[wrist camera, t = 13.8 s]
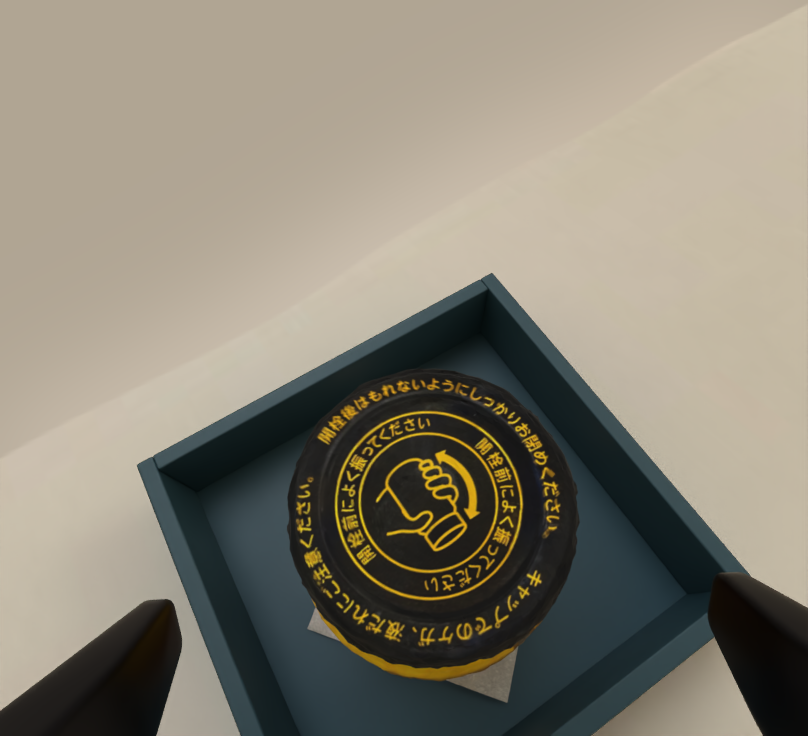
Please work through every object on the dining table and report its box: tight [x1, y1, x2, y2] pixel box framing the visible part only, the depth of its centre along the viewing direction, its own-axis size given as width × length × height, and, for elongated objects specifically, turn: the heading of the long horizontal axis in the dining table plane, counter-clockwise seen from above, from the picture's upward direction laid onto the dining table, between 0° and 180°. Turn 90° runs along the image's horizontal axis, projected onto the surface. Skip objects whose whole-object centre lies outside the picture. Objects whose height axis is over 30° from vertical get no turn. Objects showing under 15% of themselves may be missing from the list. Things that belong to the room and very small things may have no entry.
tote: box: [137, 273, 750, 736], centre depth 19 cm, size 15×14×4 cm
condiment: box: [287, 368, 580, 703], centre depth 15 cm, size 7×8×12 cm
